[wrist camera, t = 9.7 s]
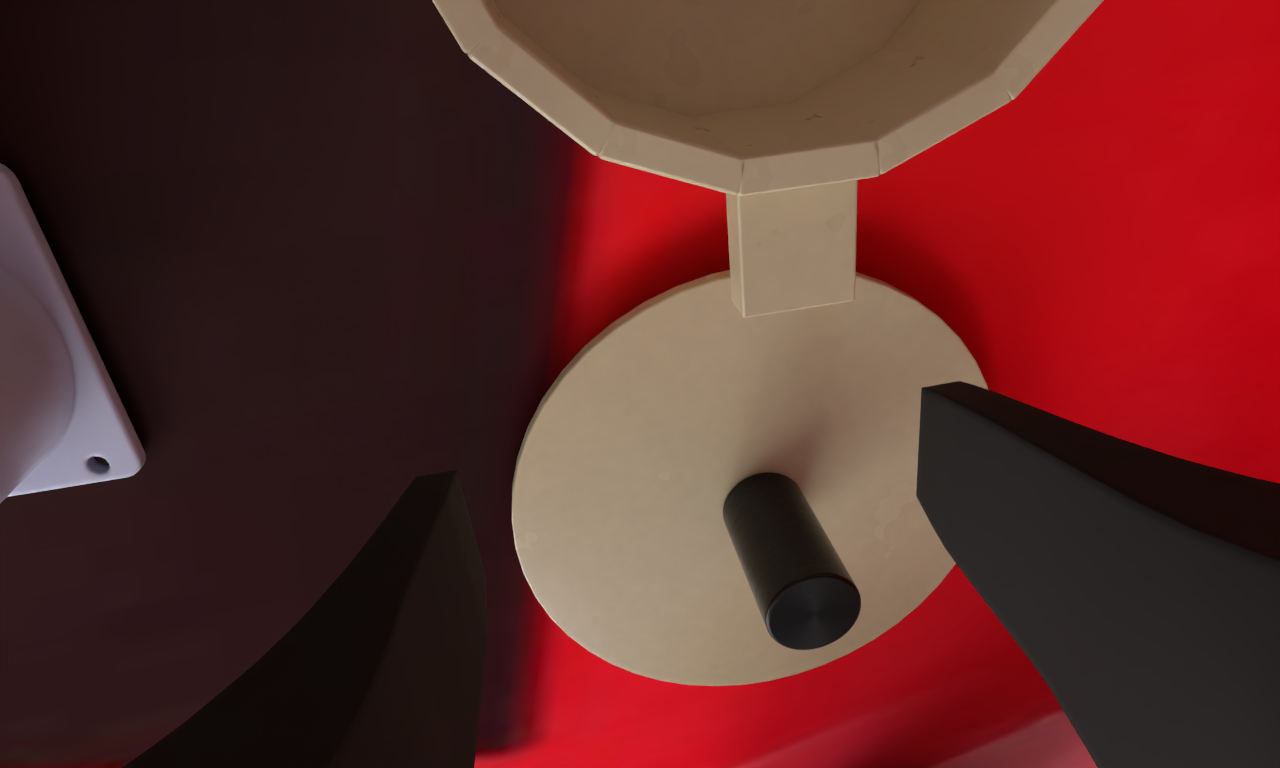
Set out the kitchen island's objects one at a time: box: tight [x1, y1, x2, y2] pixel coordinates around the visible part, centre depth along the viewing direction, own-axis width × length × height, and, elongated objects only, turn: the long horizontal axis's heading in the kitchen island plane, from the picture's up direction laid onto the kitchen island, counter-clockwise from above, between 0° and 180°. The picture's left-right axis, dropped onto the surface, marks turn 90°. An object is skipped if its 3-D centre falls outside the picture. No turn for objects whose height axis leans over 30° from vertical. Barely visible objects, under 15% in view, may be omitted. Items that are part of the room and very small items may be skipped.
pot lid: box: [512, 270, 988, 686], centre depth 22 cm, size 14×14×6 cm
